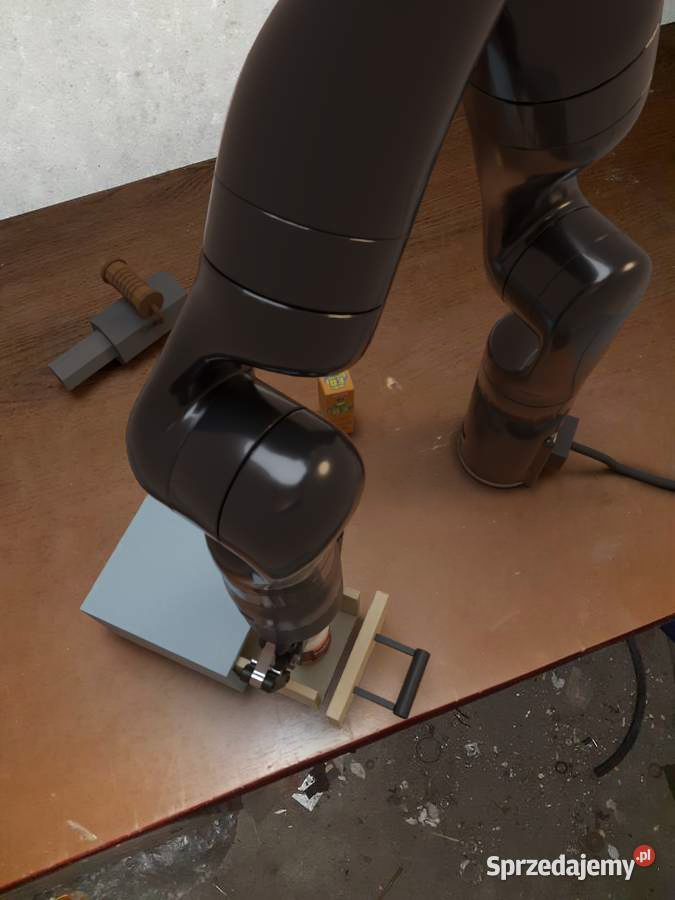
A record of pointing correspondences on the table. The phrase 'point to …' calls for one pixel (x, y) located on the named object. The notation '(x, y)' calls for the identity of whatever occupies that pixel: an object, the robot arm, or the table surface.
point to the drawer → (316, 677)
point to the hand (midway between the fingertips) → (304, 628)
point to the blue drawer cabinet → (170, 596)
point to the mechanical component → (123, 322)
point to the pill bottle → (317, 646)
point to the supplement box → (337, 400)
